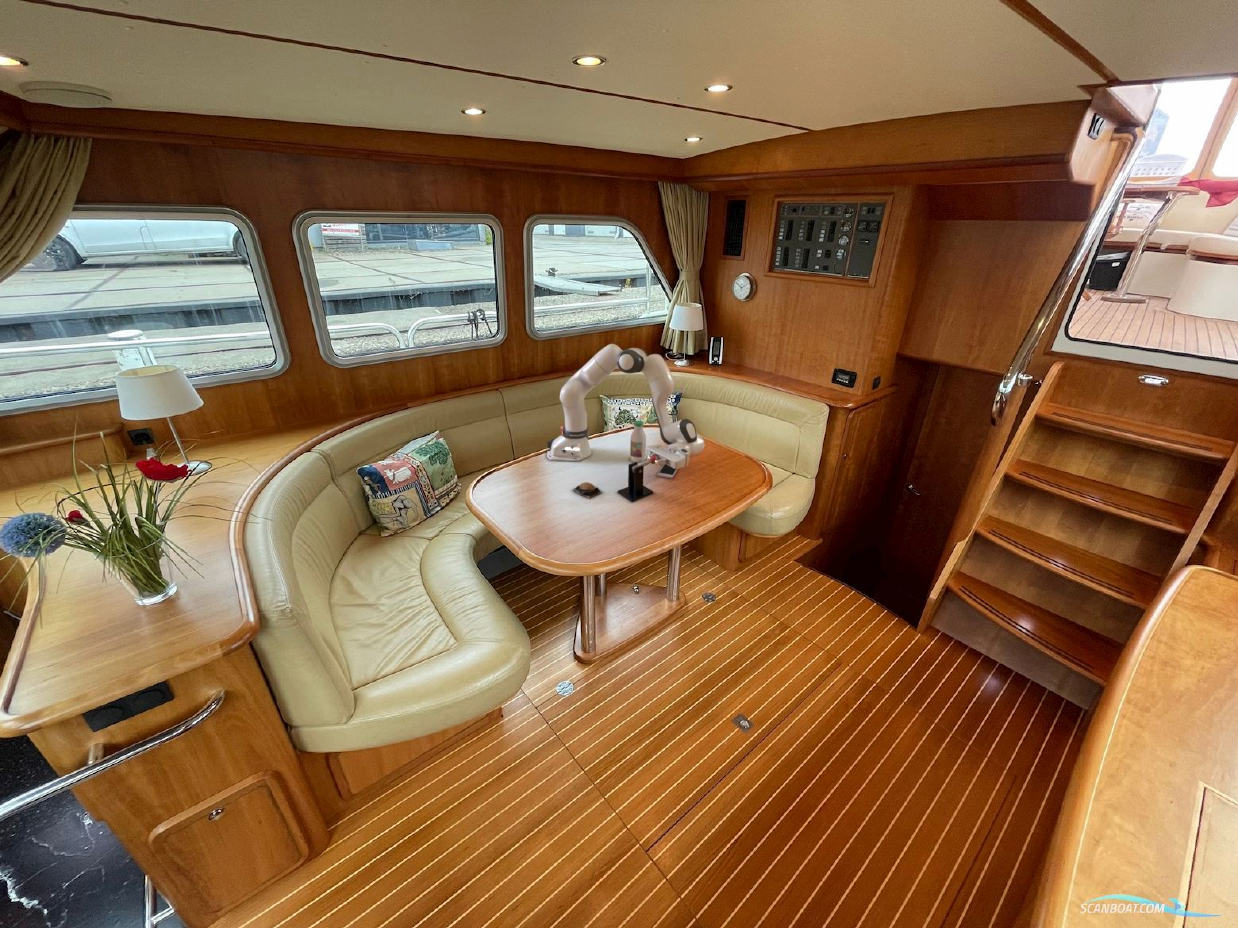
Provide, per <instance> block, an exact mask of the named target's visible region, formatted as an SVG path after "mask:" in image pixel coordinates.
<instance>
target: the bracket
mask: <svg viewBox="0 0 1238 928" xmlns="http://www.w3.org/2000/svg"><path fill="white" fill-rule="evenodd" d="M635 465H639V462H634V461H633V462H631V463H628V465H627V466H628V468H627V469H628V471H627V472H628V473H627V474H628V475H627V484H628V485H627V487H624V488H622V489H618V490H617V493H618V494H619V495H620V496H622V497H623V498H624V499H626V500H627V501H629V502H630V503H634V502H636V501H640V500H641V499H644V498H647V497H649V496H651V495H654V491H653V490H652V489H650V488H649V487H647V486H646V485H644V469H645V466H643V465H641V464H640V465H641V466H638V467H635V468H634V472H632V467H633V466H635Z"/></svg>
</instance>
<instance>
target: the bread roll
mask: <svg viewBox="0 0 1238 928" xmlns="http://www.w3.org/2000/svg"><path fill="white" fill-rule="evenodd" d="M572 490H573V492H575V493H577V494H578V495H581V496H583V497H586V498H587V499H591V498H594V497H595V496H598V495H599V494H601V493H602V491H601V490H600V488H599V487H597V486H595V485H594V484H593V483H590V482H582V483H580V484H579V485H576V487H575V488H573V489H572Z"/></svg>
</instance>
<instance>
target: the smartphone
mask: <svg viewBox="0 0 1238 928" xmlns="http://www.w3.org/2000/svg"><path fill="white" fill-rule="evenodd" d="M677 471H678V469H674V468H672V467H670V466H668V465H666V464H662V467H661V469H659V471H658V473H657V477H660V478H666V479H673V478H674V476H675V474H676V473H677Z"/></svg>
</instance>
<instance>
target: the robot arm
mask: <svg viewBox="0 0 1238 928" xmlns="http://www.w3.org/2000/svg"><path fill="white" fill-rule="evenodd" d="M617 368H618V369H619V371H620V372H622V373H624V374H627V375H629V374H636V373H637V374H638V373H642V374H643V375H644V376H645V378H646V380H647V383H648V385H649V388H650V391H651V404H652V409H653V411H654V414H655V417H656V420H657V424H658V428H659V435H660V438H661V441H662V442H663V443H664V444H666V445H667V447H666V446H664V445H662V444H652V445H649V446H646V456H647V461H649V460H650V457H652V456H656V457H657V458H658V459H657V460H655V464H654V465H656V466H658V465H664V464H666V465H668V466H670V467H672V468H674V469H677V470H679V469H683V468H685V467H688V466H689V463H690V459H691V458H694V457H697V456H699V455H700V454H701V453H703V452H704V450H705V446H706V444H705V440H704V438H703V437H702V436H700V435H699V433H698V432H697V429H696V425H695V423H694V422H693V421H692V420H691V419H689V418H682V419H679V420H677V421H674V422H672V420H671V416H670V414H669V411H668V407H667V403H668V399H669V398H670V397H671V395H672V394H673V393H674V391H675V388H676V383H675V379H674V377H673V374H672V372H671V370H670V368H669V366H668V364H667V362H666V361H665V359H664V357H662V355H660V354H659V353H653V354H649V355H648V354H647V352H646V351H645V350H644V349H643V348H640V347H630V348H627V349H624V350H623V349H622V348H621V347H620V346H619V345H617V344H615V343H610V344H607V345H606V346H604V347H602V349H600V350H599V351H598V352H596V353H595V354H594V355H593V356H592V358H590V359H589V360H588V361H587V362H586V363H585V364H584V365H583V366H582V367H581V368H579V370H577V371H576V372H575V373H574V374H572V376H571V377H570V378H569V379H568V380H567V381H566V382H565V384H563V386H562V387H561V389H560V391H559V401H560V403H561V405H562V410H563V415H564V426H563V425H562V426H560V431H561V433H560V435H559V436H558V437H556V438H555V439H554V438H552V439H550V440H548V441H547V449H548V450H550V451H548V450H547V452H546V457H547V459H548V460H549V461H560V462H561V461H563V462H581V461H582V460H584V459H586V458H588V457H590V456H591V455H592V451H591V448H590V443H589V442H590V441H589V434H590V433H589V426H588V413H587V410H586V406H585V397H586V396H587V394H588V393H589V392H591V391H592V390H593V389H594V388H595V387H597V386H598V385H600V384H601V383H602V382H603V381H604V380H605V379H606V378H608V376H609V375H610V374H612V372H613V371H615V370H616V369H617Z"/></svg>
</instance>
